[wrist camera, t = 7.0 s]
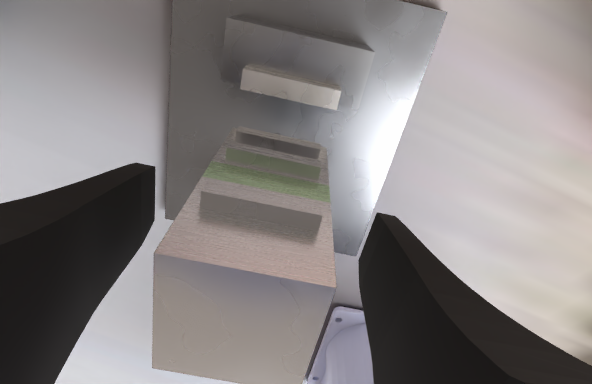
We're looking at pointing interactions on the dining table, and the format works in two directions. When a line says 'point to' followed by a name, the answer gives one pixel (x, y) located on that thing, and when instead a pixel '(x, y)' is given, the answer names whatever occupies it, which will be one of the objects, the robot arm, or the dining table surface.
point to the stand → (298, 89)
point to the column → (247, 264)
